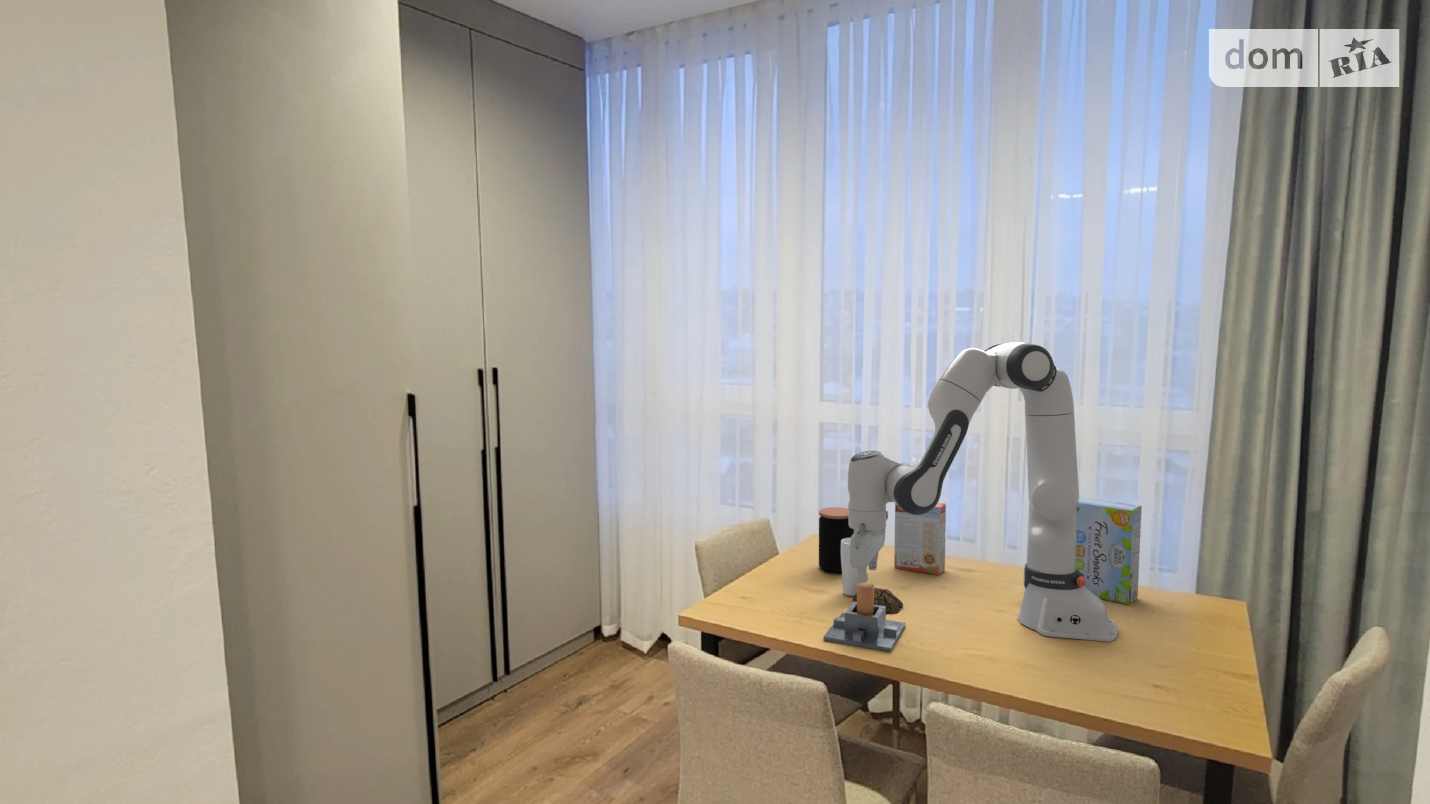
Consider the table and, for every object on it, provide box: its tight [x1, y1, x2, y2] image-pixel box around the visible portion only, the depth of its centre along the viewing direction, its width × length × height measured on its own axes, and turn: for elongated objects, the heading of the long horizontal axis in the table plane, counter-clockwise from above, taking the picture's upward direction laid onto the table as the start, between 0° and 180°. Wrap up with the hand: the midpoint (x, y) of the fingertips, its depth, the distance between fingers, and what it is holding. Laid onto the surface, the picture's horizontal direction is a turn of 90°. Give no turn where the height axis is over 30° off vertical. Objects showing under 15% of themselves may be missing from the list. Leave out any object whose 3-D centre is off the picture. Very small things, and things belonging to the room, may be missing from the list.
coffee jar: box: [818, 506, 854, 575], centre depth 233 cm, size 11×11×18 cm
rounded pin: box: [857, 582, 875, 615], centre depth 187 cm, size 4×4×11 cm
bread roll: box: [852, 587, 904, 614], centre depth 205 cm, size 13×12×5 cm
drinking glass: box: [841, 538, 862, 597], centre depth 213 cm, size 7×7×15 cm
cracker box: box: [893, 502, 947, 576], centre depth 232 cm, size 14×6×21 cm, turn 56°
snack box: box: [1075, 496, 1143, 605], centre depth 211 cm, size 22×9×26 cm, turn 46°
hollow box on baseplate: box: [823, 601, 906, 653], centre depth 187 cm, size 16×16×6 cm
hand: (868, 575), depth 185 cm, fingers open, 8 cm apart
